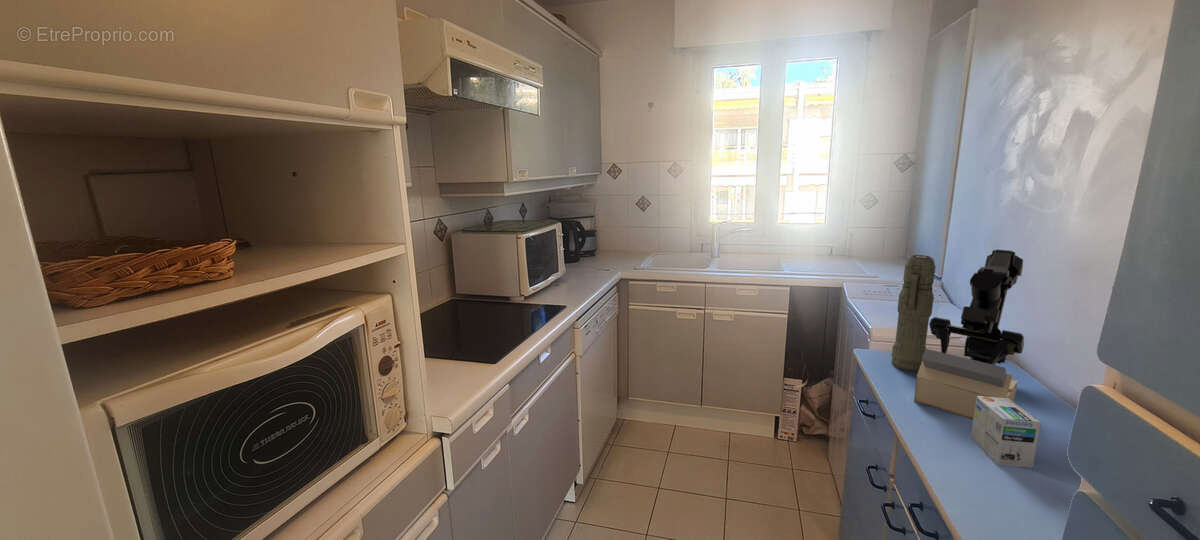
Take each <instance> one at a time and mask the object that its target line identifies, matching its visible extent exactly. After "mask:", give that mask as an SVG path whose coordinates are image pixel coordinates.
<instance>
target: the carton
mask: <svg viewBox="0 0 1200 540" xmlns="http://www.w3.org/2000/svg"><path fill="white" fill-rule="evenodd" d="M1018 382H1019V381H1018V380H1014V379H1012V380H1011V383H1010V387H1009V390H1008V393H1007V397H1006V398H1009V399H1010V400H1011V401H1013V402H1014V403H1015V397H1016V392H1017V387H1018ZM977 396H984V395H981V394H977V393H974V392H970V391H966V390H963V389H959V388H956V387H952V386H948V385H945V384H941V383H938V382H934V381H931V380H927V379H923V378H920V377H917V376H916V382H915V390H914V397H913V399H914V400H913V402H915V403H917V404H918V403H919V404H920V405H921V404H922V405H923V406H928V407H931V408H934V409H938V410H941V411H943V412H947V413H950V414H953V415H957V416H960V417H962V416H963V417H962V418H965V417H966V419H969V420H972V421H973V419H974V413H975V406H976V400H977ZM984 397H988V396H984Z"/></svg>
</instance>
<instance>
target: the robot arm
mask: <svg viewBox="0 0 1200 540" xmlns="http://www.w3.org/2000/svg"><path fill="white" fill-rule="evenodd" d="M1023 268H1024V259H1022V258H1021V257H1019V256H1018V255H1016V251H1014V250H1007V249H995V250H994V249H992V252H991V254H989V255H987V256H986V259H985V263H984V266H981V267H980V268H978V270H977V272H974V273H973V274H972V276H971V278H970V279H969V280H970V281H969V285H970V288H971V297H972V298H971V301H970V303H969V306H965V305H964V306H963V309H962V313H961V316H960V319H961V320H960V324H961V325H962V326H957V325H952V324H951V319H947V318H942V317H938V316H935V317H933V318H931V319H930V320H929V323H928V327H929V328H930V329H929V330H930V332H931V333H930V334H931V335H933V336H935V338H936V339H938V340H940V349H941V351H940V352H942V353H946V354H947V353H948V348H949V344H950V339H951V338H950V337H951V334H955V335H961V336H965V337H966V338H965V342H964V343H965V344H964V352H963V356H964V357H969V359H971V360H976V361H980V362H984V363H988V364H992V365H997V364H999V365H1000V364H1001V363H1002V364H1005V363H1006V357H1007V356H1008V355H1010V356H1011V355H1012V356H1014V355H1015V354H1022V353H1023V351H1024V346H1025V337H1024V335H1023V334H1022V333H1021V332H1020V333H1019V332H1017V331H1016V332H1014V331H1010V330H1004V329H1003V330H1002V331H1001V329H999V325H1000V324H1001V323H1000V322H1001V320H1002V315H1003V309H1004V306H1005V304H1006V303H1005V302H1006V297H1007V293H1008V291H1010V289H1012V288H1013V286H1014V285H1015V284H1016V283H1017V282H1018V279H1019V277H1021V276H1022V273H1023Z"/></svg>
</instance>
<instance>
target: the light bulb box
mask: <svg viewBox="0 0 1200 540" xmlns="http://www.w3.org/2000/svg"><path fill="white" fill-rule="evenodd" d="M1041 423H1042V422H1041V421H1040V420H1038V419H1037V418H1036V417H1035V416H1033V415H1031V414H1030V413H1029V412H1027V411H1026V410H1025V409H1023V408H1022V407H1021V406H1019V405H1018V404H1017V403H1015V401H1014V402H1013V401H1011V400H1010V399H1009V398H997V397H984V396H977V400H976V406H975V413H974V419H973V420H972V427H971V432H970V439H971V440H972V441H974V443H975V444H976V445H977V446H978V447H979V448H981V450H982V451H983V452H984V453H985V454H986V455H988V457H989V459H991V460H992V461H993V462H994V463H995V464H996V465H997V466H1009V467H1021V468H1027V469H1028V468H1029V469H1032V468H1034V462H1035V461H1034V460H1035V456H1036V451H1037V450H1036V449H1037V445H1038V440H1039V435H1040V429H1041Z"/></svg>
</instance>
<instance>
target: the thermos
mask: <svg viewBox="0 0 1200 540" xmlns="http://www.w3.org/2000/svg"><path fill="white" fill-rule="evenodd" d="M935 273H936V264H935V261H934V258H933V257H931V256H929V255H923V254H913V255H910V256H909V257H908V258H907V260H906V262H905V264H904V270H903V277H902V278H903V279H902V281H903V284H902V287H901V290H900V291H899V294H898V302H897V309H896V310H897V312H898V317H897V324H896V325H897V326H896V331H895V341H894V344H893V345H892V349H891V363H892V364H891V365H892V366H893V365H894V366H895V367H894V366H893V367H894V368H896V367H897V369H899V370H902V371H907V372H914V373H915V372H917V373H918V371H919V368H920V366H921V363H922V357H923V354H924V351H925V349H927V347H926V346H927V345H926V343H927V336H928V329H929V323H930V317H931V316H932V315H933V314H932V313H933V308H934V307H933V306H934V300H935V297H934V293H933V292H934V291H933V284H934V280H935Z"/></svg>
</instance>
